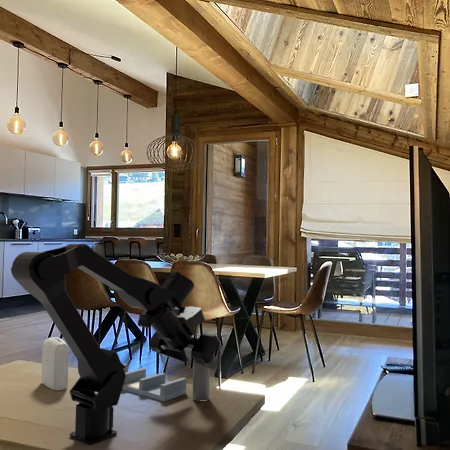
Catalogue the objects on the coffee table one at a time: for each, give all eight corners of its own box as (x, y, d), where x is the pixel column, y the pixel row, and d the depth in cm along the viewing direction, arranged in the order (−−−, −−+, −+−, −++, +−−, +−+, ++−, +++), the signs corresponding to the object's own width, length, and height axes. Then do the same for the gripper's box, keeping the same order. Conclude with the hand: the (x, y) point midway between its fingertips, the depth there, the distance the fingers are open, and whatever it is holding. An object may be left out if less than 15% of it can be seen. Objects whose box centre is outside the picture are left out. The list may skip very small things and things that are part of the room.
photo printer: (39, 382, 125) (40, 335, 125) (55, 380, 127) (56, 333, 128) (52, 392, 117) (54, 341, 117) (69, 389, 120) (71, 340, 120)
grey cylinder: (202, 403, 111) (203, 347, 111) (188, 399, 113) (189, 344, 114) (213, 398, 114) (214, 344, 115) (199, 395, 116) (200, 342, 117)
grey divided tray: (163, 401, 111) (164, 385, 111) (101, 383, 125) (101, 369, 125) (186, 393, 118) (186, 378, 118) (124, 377, 131) (124, 363, 131)
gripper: (215, 299, 104) (245, 342, 112) (158, 293, 116) (189, 332, 124) (189, 340, 98) (223, 383, 106) (132, 329, 110) (166, 368, 118)
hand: (200, 364), depth 113 cm, fingers open, 9 cm apart
